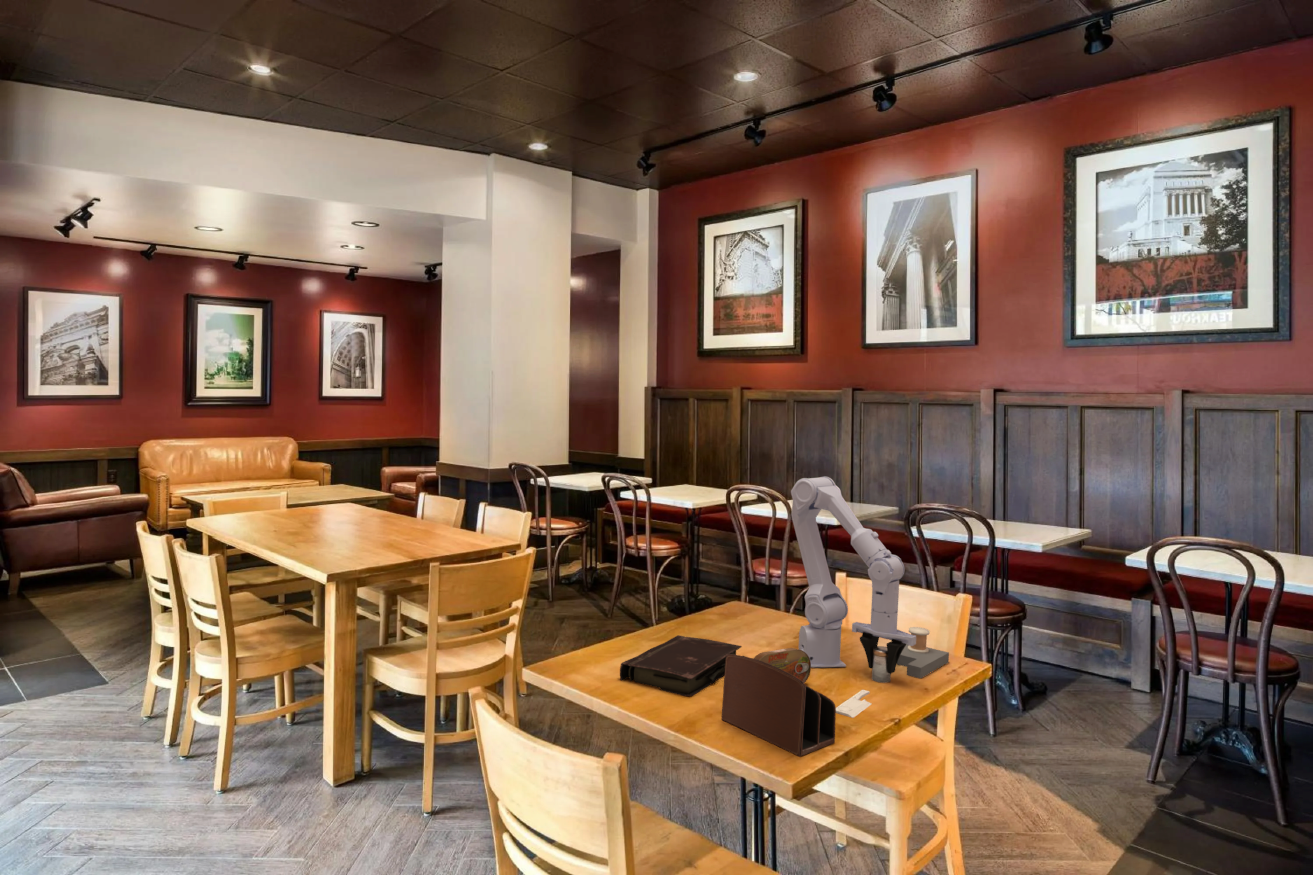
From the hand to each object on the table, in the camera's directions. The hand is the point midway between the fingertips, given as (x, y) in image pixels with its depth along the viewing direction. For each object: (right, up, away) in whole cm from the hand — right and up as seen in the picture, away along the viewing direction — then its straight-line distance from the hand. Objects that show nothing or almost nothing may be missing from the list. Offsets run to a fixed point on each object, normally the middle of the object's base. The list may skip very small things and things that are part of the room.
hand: (881, 669), depth 182 cm
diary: (-45, -1, +1) cm, 45 cm away
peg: (0, -2, 0) cm, 2 cm away
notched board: (+10, -2, +12) cm, 15 cm away
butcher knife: (-9, -3, -15) cm, 18 cm away
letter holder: (-28, -3, -30) cm, 41 cm away
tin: (-24, -2, -7) cm, 25 cm away
